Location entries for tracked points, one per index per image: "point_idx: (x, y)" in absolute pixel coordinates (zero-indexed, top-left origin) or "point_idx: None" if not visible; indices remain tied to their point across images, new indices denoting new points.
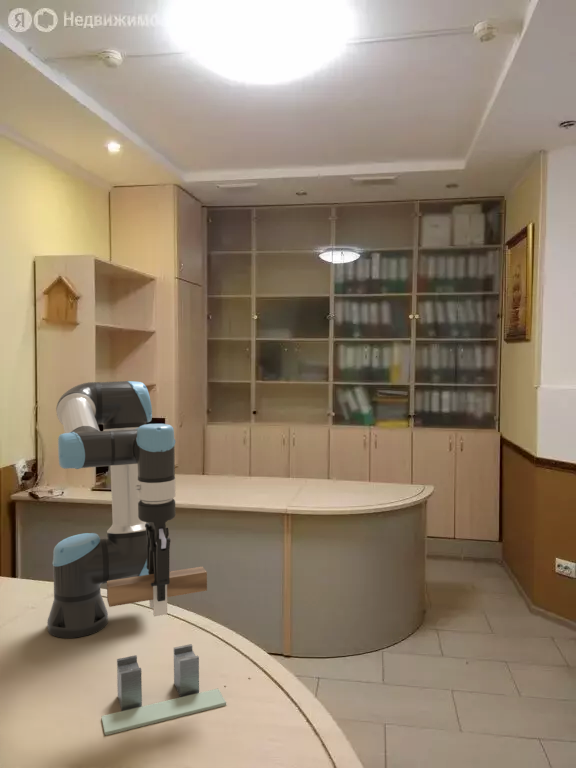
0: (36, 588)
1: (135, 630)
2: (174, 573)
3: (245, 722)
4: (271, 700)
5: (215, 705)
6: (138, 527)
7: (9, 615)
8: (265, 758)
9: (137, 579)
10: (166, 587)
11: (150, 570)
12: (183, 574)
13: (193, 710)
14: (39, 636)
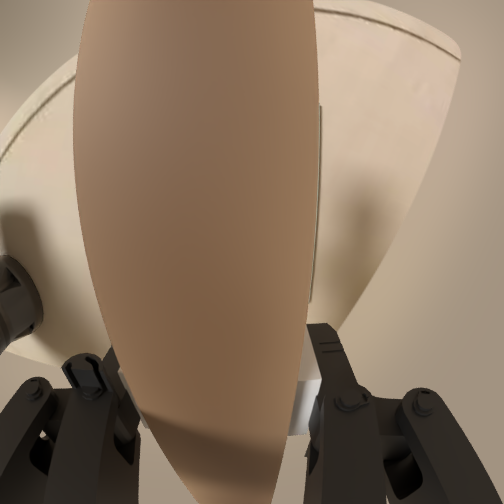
0: None
1: (26, 218)
2: (181, 325)
3: (371, 97)
4: (330, 36)
5: (319, 122)
6: None
7: (11, 351)
8: (441, 116)
9: (227, 483)
10: (315, 358)
11: (136, 458)
12: (267, 229)
13: (318, 163)
14: (41, 337)
